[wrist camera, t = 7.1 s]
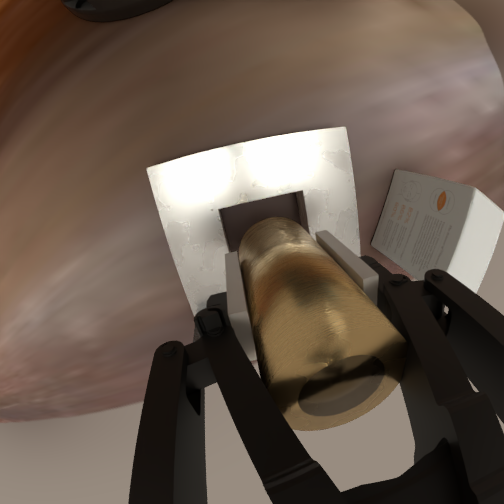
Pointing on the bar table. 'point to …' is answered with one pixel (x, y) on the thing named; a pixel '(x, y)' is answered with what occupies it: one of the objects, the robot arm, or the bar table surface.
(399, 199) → the small box
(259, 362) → the bushing
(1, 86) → the bar table surface
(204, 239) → the plate
